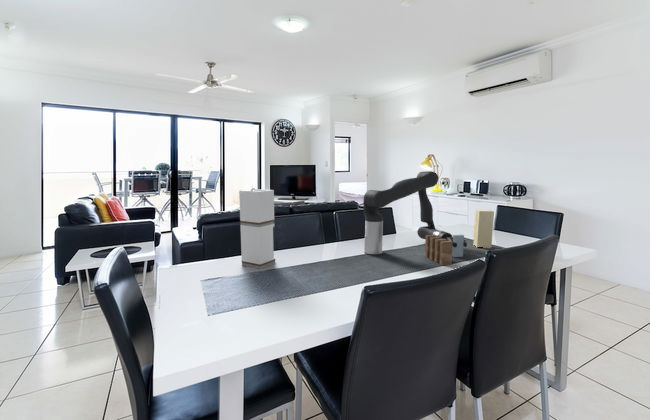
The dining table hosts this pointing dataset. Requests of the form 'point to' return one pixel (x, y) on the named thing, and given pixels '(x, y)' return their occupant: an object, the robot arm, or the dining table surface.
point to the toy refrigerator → (483, 228)
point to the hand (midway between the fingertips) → (461, 245)
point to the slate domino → (458, 246)
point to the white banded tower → (257, 227)
